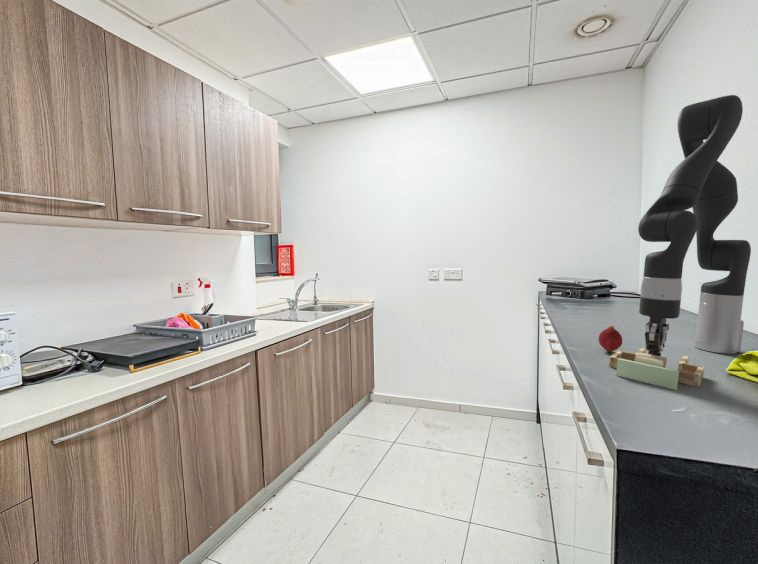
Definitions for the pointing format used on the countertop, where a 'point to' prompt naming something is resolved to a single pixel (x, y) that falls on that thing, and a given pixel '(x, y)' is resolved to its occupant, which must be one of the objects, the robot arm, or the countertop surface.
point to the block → (651, 360)
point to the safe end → (648, 373)
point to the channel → (686, 371)
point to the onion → (610, 339)
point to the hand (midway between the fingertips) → (653, 366)
